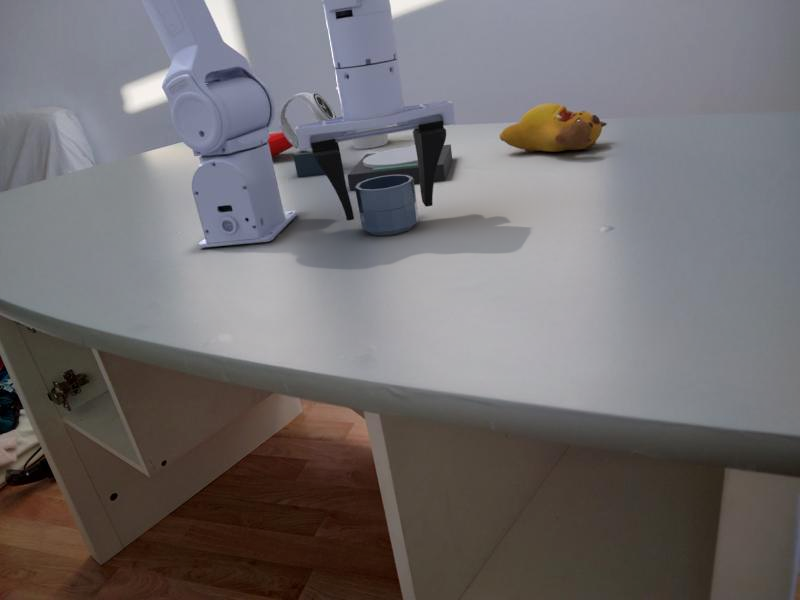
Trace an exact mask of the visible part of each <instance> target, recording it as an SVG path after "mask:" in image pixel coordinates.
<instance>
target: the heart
mask: <svg viewBox="0 0 800 600" xmlns="http://www.w3.org/2000/svg"><path fill="white" fill-rule="evenodd" d="M269 135H270V138H269V139H268V141H267V142H268V143H269V147H270V152H271V156H272V159H273V158H274V157H276V156H279V155H281V154H282V153H284V152H286V151H287V150H290V149H291V148H293V147H294V146H293V145H292V144H291V143H290V142H289V141H288V140H287V138H286V137H285V135H284V134H283V132H282V131H279V132H273V133H269Z"/></svg>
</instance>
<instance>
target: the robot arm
mask: <svg viewBox="0 0 800 600" xmlns="http://www.w3.org/2000/svg"><path fill="white" fill-rule="evenodd" d="M140 1H141V3H142V5H143V7H144V9H145V11H146V13H147V15H148V17H149V20H150V21H151V23H152V25H153V27H154V29H155V32H156V34H157V35H158V38H159V39H160V41H161V44H162V46H163V48H164V49H165V51H166V54H167V56H168V58H169V60H170V66H169V67H168V71H167V73H166V75H165V77H164V79H163V81H162V85H161V88H162V90H163V93H164V94H165V97H166V99H167V102H168V105H169V108H170V118H171V122H172V126H173V128H174V131H175V132H176V135H177V136H178V138H179V139H180V140H181V141H182V143H183V144H184V145H185V146H187V148H189V149H191V150H192V153H193V156H194V157H198V160H199V166H198V167H197V169H196V170H195V172H194V173H193V176H192V179H191V191H192V195H193V199H194V203H195V207H196V210H197V214H198V217H199V222H200V225H201V229H202V232H203V236H204V238H203V239H202V240H201V241H199V242H198V247H199V248H201V249H203V248H204V249H205V248H214V247H223V246H234V245H235V246H237V245H246V244H256V243H268V242H272V241H273V240H274V239H275V238H276V237H277V236H278V235H279V234H280V233H281V232H282V231H283V229H285V228H286V227H287V225H288V224H289V223H291V222H292V220H294V218H295V217H296V216H297V215H298V211H297V210H284V206H283V202H282V198H281V193H280V188H279V184H278V179H277V174H276V170H275V167H274V162H273V158H272V156H271V152H270V147H269V143H268V142H267V141H268V139H269V138H270V135H269V134H270V131H269V128H270V127H271V125H272V124H273V122H274V118H275V113H276V108H275V107H276V106H275V101H274V97H273V95H272V92H271V91H270V89H269V87H268V86H267V85H266V83H265V82H264V81H263V80H261V79H260V78H259V76H257V75H256V73H255V72H254V71H253V69H252V67H251V65H250V63H249V61H248V59H247V57H245V56H244V55H243V54H241V52H239V51H238V50H236V49H234V48H233V47H232V46H230V45H229V44H227V42H225V41H224V39H223V37H222V35H221V33H220V30H219V29H218V27H217V24H216V22H215V20H214V18H213V15H212V13H211V11H210V10H209V7H208V5H207V3H206V1H205V0H140ZM321 4H322V5H323V10H324V16H325V17H324V18H325V22H326V28H327V32H328V40H329V44H330V50H331V56H332V62H333V67H334V74H335V80H336V87H337V86H338V90H337V93H338V92H339V93H338V98H339V103H340V109H341V115H342V116H339V117H336V118H333V119H329V120H324V121H319V120H318V121H315V122H310V123H304V124H299V125H296V126H295V134H296V135H297V139H298V143H299V148H300V149H299V148H298V149H299V151H300V150H302V149H308V148H311V147H312V152H313V157H314V158H315V160H316V161H317V163H318V164H319V166H320V167H321V169H322V170H323V171H324V173H325V174H324V175H325V176H326V178H327V179H328V181H329V182H330V184H331V186H332V188H333V190H334V191H335V193H336V195H337V197H338V199H339V201H340V203H341V204H340V205H341V206H342V208H343V211H344V215H345V218H346V221H353V220H355V216H354V211H353V206H352V203H351V199H350V198H351V197H350V196H349V192H348V191H349V190H348V188H347V184H346V183H347V182H346V178H345V172H344V167H343V166H344V165H343V160H342V155H341V151H340V145H339V143H341V142H348V141H352V140H354V139H360V138H365V137H371V136H377V135H383V134H387V135H389V134H395V133H400V132H401V133H402V132H406V131H412V136H413V141H414V146H415V147H416V152H417V158H418V165H419V175H420V183H419V187H420V188H419V190H420V196H421V202H422V204H423V205H424V206H425V208H426V207H432V206H433V204H434V203H433V197H434V196H433V195H434V194H433V193H434V185H435V182H434V179H435V173H436V168H437V164H438V161H439V157H440V154H441V151H442V148H443V146H444V145H445V143H446V139H447V129H446V128H445V127H444V126H450V125H454V124H456V119H455V109H454V102H452V101H450V100H442V101H437V102H428V103H419V104H413V105H412V104H411V105H405V103H404V96H403V95H404V94H403V89H402V88H403V87H402V80H401V74H400V66H399V58H398V51H397V43H396V36H395V29H394V22H393V15H392V8H391V2H390V0H321ZM392 125H393V126H392ZM383 126H387V127H386V128H380V129H374V130H368V131H363V132H357V130H363V129H371V128H378V127H383ZM355 132H357V133H355Z"/></svg>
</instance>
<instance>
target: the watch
mask: <svg viewBox="0 0 800 600" xmlns="http://www.w3.org/2000/svg"><path fill="white" fill-rule="evenodd" d="M299 97H300V98H302V99H303V100H304V101H305V102H306V103H307V105H308V108H309V111H310V112H311V114H312V115H313V117H315V118H316V120H317V121H318V122H319V121H324V120H329V119H333V118H337V116H336V113H335V111H334V110H333V108H332V106H331V105H330V104H329V103H328V101H327V100H326V99H325V98H324V97H323V96H322V95H320V94H318V93H317V92H313V93H312V92H307V91H306V92H305V91H304V92H299V93H296V94H293V95H292V96H289V97H288V98H287V99H285V100H284V102H283V103H282V105H281V106H280V108H279V112H278V121H279V122H278V123H279V128H280V130H281V132H283V134H284V135H285V137H286V138H287V140H288V141H289V142H290V143H291V144H292V145H293V147H294V148H295V149H299V151H296V153H295V154H293V161H294V166H295V172H296V177H297V178H301V177H311V176H319V175H326V174H325V173H324V171H323V170H322V169H321V167H320V166H319V164H318V163H317V161H316V160H315V158H314V157H313V152H312V147H311V148H308V149H302V150H300V148H299V143H298V139H297V134H296V132H295V131H294V130H293V127H292V126H291V125H290V123H289V122H288V118H287V117H286V111H287V108H288V106H289V104H290V103H291V101H293V100H294V99H296V98H299Z"/></svg>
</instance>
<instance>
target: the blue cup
mask: <svg viewBox="0 0 800 600" xmlns="http://www.w3.org/2000/svg"><path fill="white" fill-rule="evenodd" d="M354 191H355V195H356V202H357V207H358V212H359V213H358V214H359V219H360V224H361V225H360V226H361V228H362V229H363V230H364V231H366V232H368V233H369V234H371V235H375V236H392V235H397V234H401V233H404V232H406V231H409V230H411V229H412V228H413V227H414V225H415V224H417V223H418V220H419V211H418V210H419V209H418V202H417V194H416V188H415V184H414V179H413V177H411V176H409V175H387V176H380V177H376V178H371V179H367V180H365V181H362V182H360V183H358V184H357V185H356V187H355V190H354Z"/></svg>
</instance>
